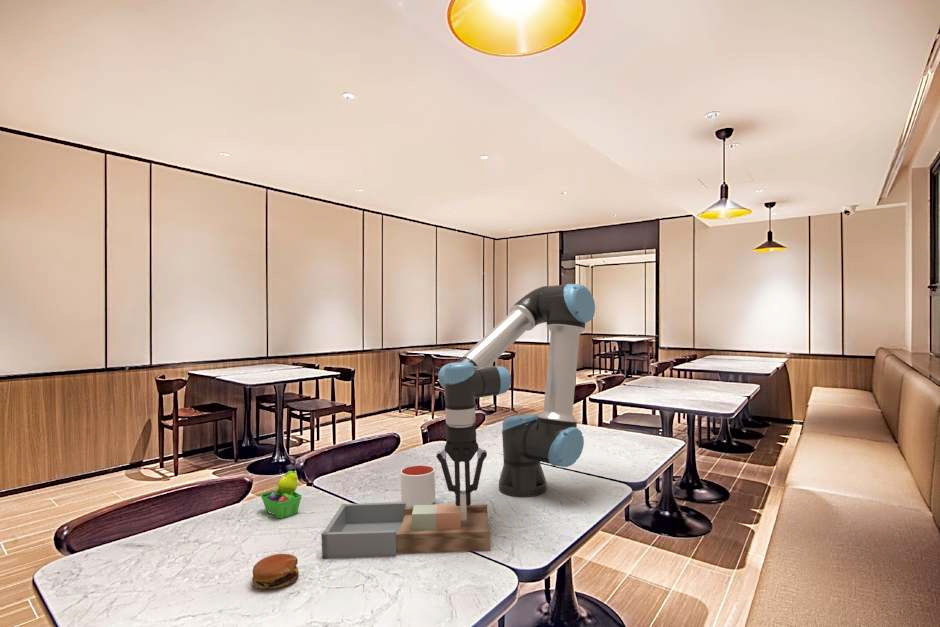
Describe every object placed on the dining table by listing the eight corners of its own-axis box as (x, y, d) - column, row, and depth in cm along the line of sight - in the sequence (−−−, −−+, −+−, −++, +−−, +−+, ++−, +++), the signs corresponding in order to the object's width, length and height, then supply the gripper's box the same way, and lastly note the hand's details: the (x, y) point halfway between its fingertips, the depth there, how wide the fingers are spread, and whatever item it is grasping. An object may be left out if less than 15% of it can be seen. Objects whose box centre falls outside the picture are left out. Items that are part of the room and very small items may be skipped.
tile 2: (461, 519, 131) (460, 503, 131) (461, 529, 125) (460, 512, 125) (437, 520, 131) (437, 504, 131) (436, 529, 125) (436, 513, 125)
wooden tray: (487, 521, 136) (487, 504, 136) (490, 550, 119) (489, 531, 120) (405, 524, 136) (405, 507, 136) (396, 553, 119) (396, 534, 119)
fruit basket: (259, 512, 149) (258, 473, 149) (288, 503, 155) (287, 466, 155) (278, 522, 141) (277, 481, 141) (307, 512, 147) (306, 473, 147)
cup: (430, 511, 145) (429, 476, 145) (396, 509, 147) (395, 475, 147) (439, 498, 155) (438, 465, 155) (407, 497, 157) (406, 464, 157)
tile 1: (437, 520, 131) (437, 504, 131) (436, 529, 125) (436, 513, 125) (414, 520, 131) (414, 505, 131) (412, 530, 125) (411, 514, 125)
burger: (247, 578, 110) (247, 557, 110) (291, 565, 116) (291, 545, 116) (258, 598, 102) (257, 575, 102) (304, 583, 108) (304, 561, 108)
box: (406, 522, 138) (405, 502, 138) (396, 555, 118) (395, 532, 118) (342, 524, 138) (342, 504, 138) (322, 558, 118) (321, 534, 118)
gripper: (486, 420, 132) (488, 511, 132) (435, 422, 132) (438, 513, 132) (487, 426, 124) (490, 523, 124) (434, 428, 124) (437, 525, 124)
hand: (463, 518), depth 128 cm, fingers closed
